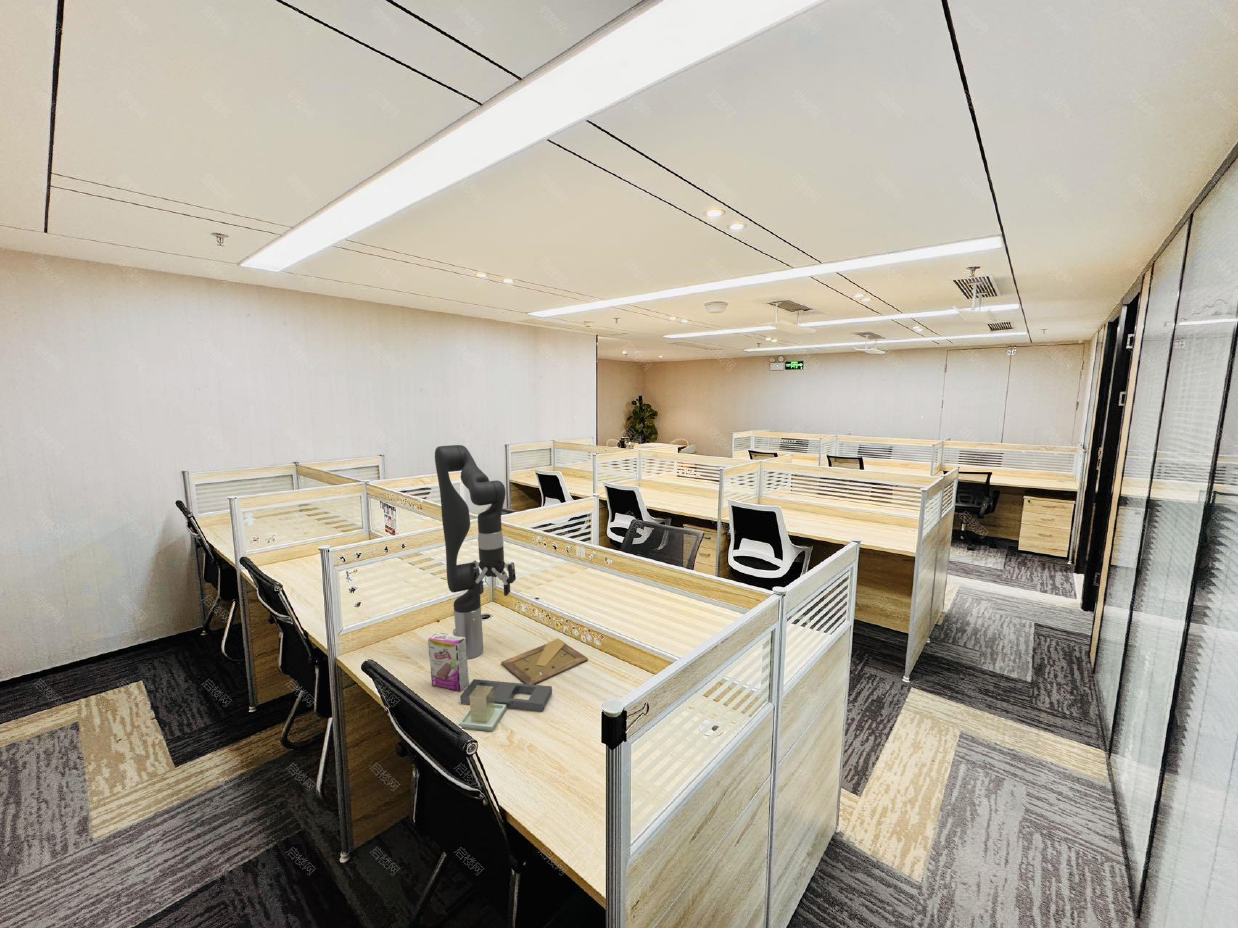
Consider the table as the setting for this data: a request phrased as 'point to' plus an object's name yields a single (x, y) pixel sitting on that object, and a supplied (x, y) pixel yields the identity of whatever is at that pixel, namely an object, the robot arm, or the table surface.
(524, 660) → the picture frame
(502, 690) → the board with square holes
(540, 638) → the table surface
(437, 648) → the candy bar box
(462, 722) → the tray
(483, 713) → the tan square peg
